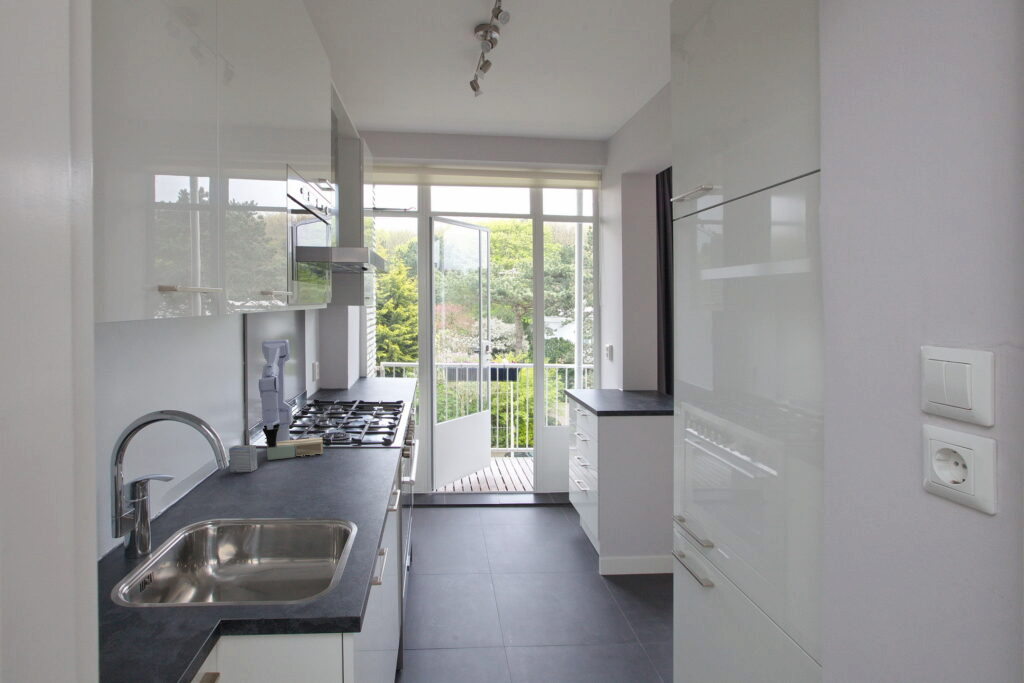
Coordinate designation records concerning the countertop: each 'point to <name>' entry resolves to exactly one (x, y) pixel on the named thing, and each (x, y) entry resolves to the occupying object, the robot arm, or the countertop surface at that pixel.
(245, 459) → the medicine box
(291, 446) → the side door
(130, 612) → the countertop surface
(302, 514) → the countertop surface
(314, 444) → the tan rectangular box
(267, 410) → the robot arm
